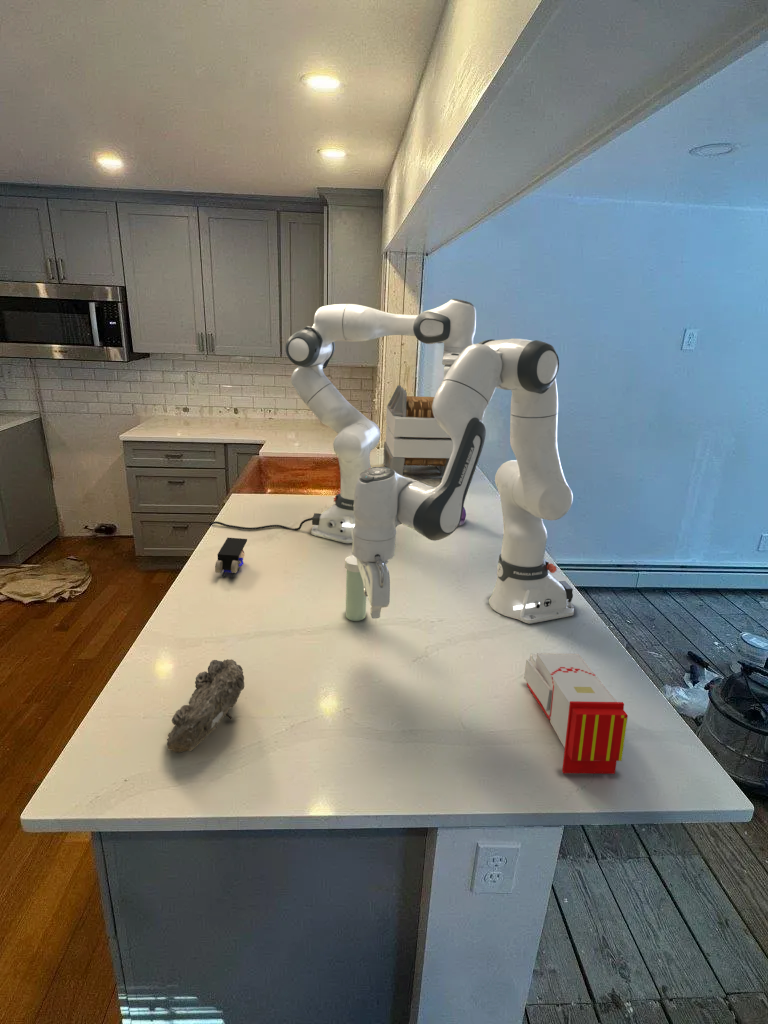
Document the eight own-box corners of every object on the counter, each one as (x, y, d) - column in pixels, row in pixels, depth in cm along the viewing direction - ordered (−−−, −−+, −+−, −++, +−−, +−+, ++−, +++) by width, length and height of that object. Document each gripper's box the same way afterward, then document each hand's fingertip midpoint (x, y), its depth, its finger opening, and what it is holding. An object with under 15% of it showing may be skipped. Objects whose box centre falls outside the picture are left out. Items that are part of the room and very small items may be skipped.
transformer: (382, 463, 289) (386, 382, 275) (445, 464, 293) (451, 384, 279) (390, 482, 257) (394, 392, 243) (460, 483, 261) (468, 394, 247)
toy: (573, 635, 123) (638, 710, 94) (567, 691, 126) (628, 782, 97) (518, 633, 123) (565, 709, 93) (513, 690, 125) (557, 781, 96)
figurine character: (238, 584, 162) (249, 557, 175) (236, 562, 158) (247, 536, 172) (215, 584, 161) (227, 556, 175) (212, 561, 158) (225, 535, 171)
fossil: (192, 660, 117) (244, 628, 112) (224, 691, 120) (276, 661, 115) (142, 746, 98) (202, 712, 93) (182, 779, 101) (242, 748, 96)
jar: (355, 608, 149) (356, 555, 144) (369, 615, 146) (371, 561, 141) (341, 615, 145) (342, 561, 140) (356, 623, 142) (357, 567, 137)
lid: (356, 559, 145) (356, 552, 144) (374, 567, 142) (374, 559, 141) (339, 567, 141) (340, 559, 140) (357, 574, 137) (357, 567, 136)
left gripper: (453, 354, 180) (449, 398, 185) (441, 358, 161) (437, 407, 166) (473, 355, 178) (468, 399, 183) (463, 360, 160) (459, 409, 164)
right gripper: (399, 567, 108) (395, 630, 112) (380, 527, 127) (377, 583, 131) (366, 568, 106) (364, 632, 111) (352, 528, 125) (350, 584, 130)
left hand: (454, 403), depth 174 cm, fingers open, 8 cm apart
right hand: (371, 605), depth 121 cm, fingers open, 8 cm apart
